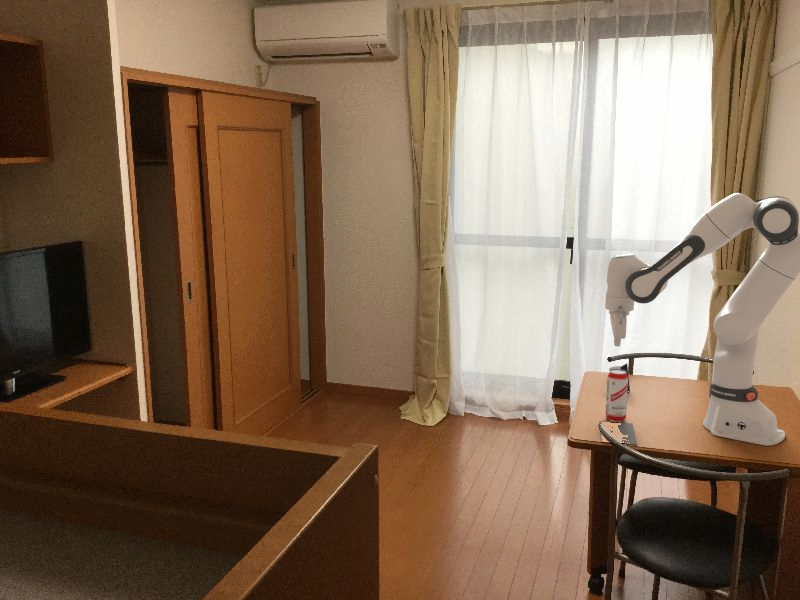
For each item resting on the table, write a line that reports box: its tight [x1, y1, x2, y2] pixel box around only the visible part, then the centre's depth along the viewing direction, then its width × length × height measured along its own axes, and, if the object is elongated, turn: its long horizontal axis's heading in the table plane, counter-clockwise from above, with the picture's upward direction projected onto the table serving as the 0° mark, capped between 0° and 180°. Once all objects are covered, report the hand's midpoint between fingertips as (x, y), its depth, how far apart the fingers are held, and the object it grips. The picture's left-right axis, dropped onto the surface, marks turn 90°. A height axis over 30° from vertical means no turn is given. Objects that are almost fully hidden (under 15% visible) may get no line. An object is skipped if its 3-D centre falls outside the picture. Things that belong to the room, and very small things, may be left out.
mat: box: [610, 422, 638, 446], centre depth 210 cm, size 17×10×1 cm, turn 166°
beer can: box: [605, 369, 629, 422], centre depth 220 cm, size 6×6×16 cm
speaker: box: [609, 362, 631, 393], centre depth 248 cm, size 8×6×10 cm
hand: (617, 345), depth 225 cm, fingers closed
